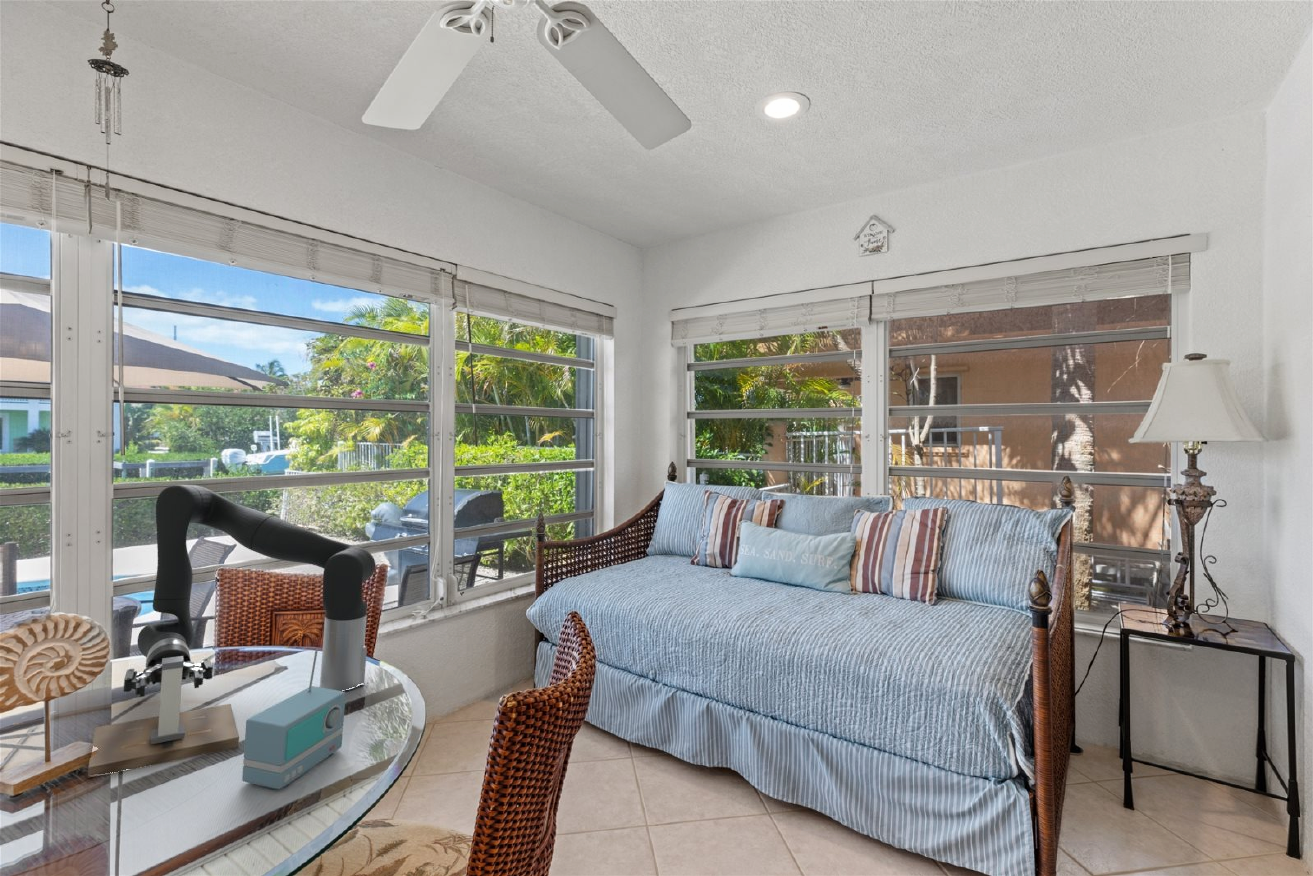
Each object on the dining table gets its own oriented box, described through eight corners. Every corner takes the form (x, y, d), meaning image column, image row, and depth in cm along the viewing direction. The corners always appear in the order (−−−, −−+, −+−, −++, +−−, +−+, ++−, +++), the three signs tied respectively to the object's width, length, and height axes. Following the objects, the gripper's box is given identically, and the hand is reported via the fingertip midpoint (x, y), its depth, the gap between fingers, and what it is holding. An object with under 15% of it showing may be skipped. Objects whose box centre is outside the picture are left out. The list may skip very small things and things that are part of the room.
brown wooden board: (230, 713, 137) (230, 703, 137) (238, 747, 124) (239, 736, 124) (94, 737, 123) (95, 727, 123) (87, 778, 110) (88, 767, 110)
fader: (183, 729, 124) (188, 654, 124) (184, 737, 121) (189, 661, 121) (151, 735, 121) (156, 658, 121) (151, 744, 118) (156, 665, 118)
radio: (284, 796, 110) (292, 681, 109) (240, 786, 111) (248, 673, 111) (346, 752, 125) (354, 651, 125) (307, 744, 127) (314, 645, 127)
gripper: (126, 648, 132) (124, 675, 120) (209, 638, 141) (215, 662, 129) (124, 683, 132) (121, 714, 120) (207, 671, 141) (213, 698, 129)
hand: (170, 687), depth 124 cm, fingers open, 8 cm apart
